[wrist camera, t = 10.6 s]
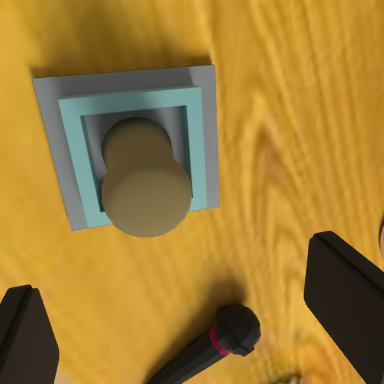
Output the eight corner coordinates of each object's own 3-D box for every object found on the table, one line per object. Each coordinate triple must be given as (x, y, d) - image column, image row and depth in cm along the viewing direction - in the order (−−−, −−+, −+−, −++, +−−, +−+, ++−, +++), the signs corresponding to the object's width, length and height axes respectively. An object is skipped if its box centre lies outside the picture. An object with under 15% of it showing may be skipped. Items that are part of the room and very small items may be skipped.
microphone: (145, 379, 43) (253, 298, 38) (156, 426, 39) (278, 343, 34) (115, 378, 39) (230, 289, 34) (123, 431, 35) (255, 338, 30)
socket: (212, 64, 25) (224, 65, 22) (217, 203, 31) (227, 218, 28) (34, 78, 23) (22, 80, 20) (72, 226, 28) (67, 246, 25)
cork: (186, 156, 27) (225, 209, 17) (134, 197, 28) (144, 273, 18) (142, 101, 24) (158, 126, 15) (85, 148, 25) (64, 204, 15)
